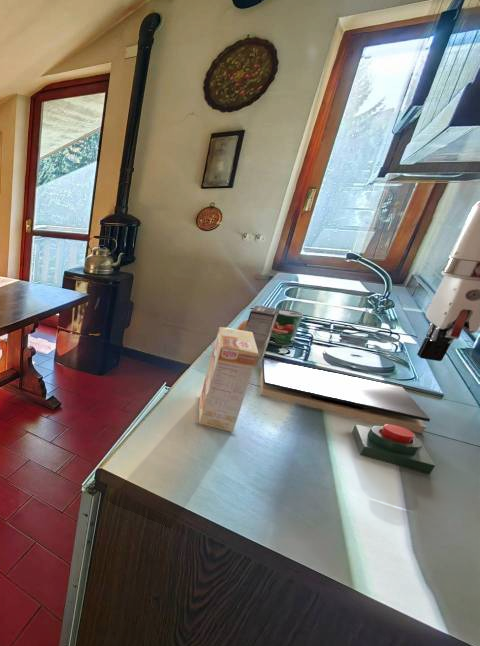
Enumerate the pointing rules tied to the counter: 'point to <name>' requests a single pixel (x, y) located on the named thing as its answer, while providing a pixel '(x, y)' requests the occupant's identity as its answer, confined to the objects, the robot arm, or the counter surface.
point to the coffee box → (261, 327)
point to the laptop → (341, 407)
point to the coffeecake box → (227, 378)
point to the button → (397, 433)
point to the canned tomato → (285, 327)
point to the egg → (242, 326)
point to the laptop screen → (342, 389)
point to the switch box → (392, 449)
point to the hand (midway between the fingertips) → (428, 358)
